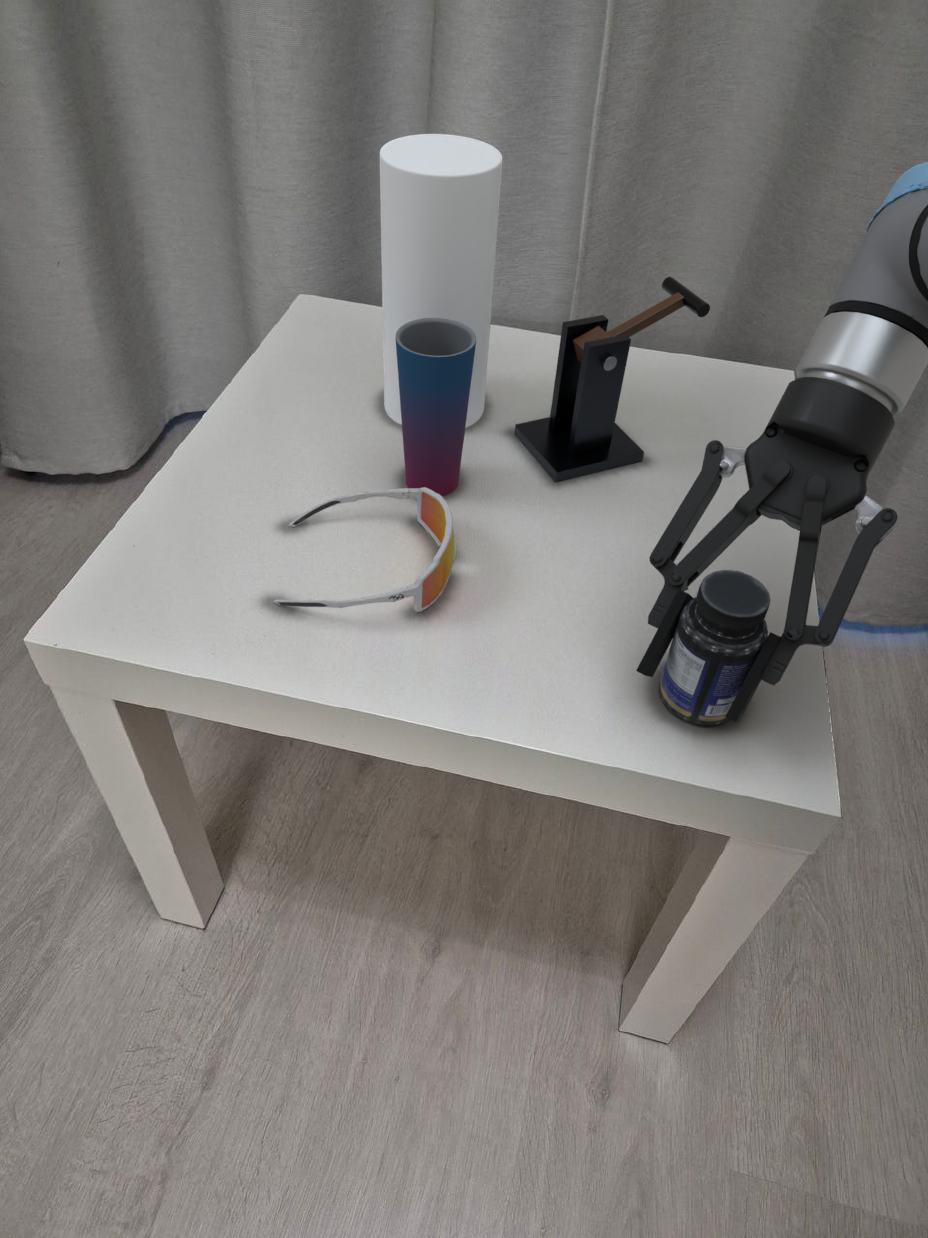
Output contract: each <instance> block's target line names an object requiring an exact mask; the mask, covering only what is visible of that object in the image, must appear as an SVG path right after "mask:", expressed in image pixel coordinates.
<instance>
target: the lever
mask: <svg viewBox="0 0 928 1238" xmlns="http://www.w3.org/2000/svg"><path fill="white" fill-rule="evenodd" d="M661 288H662V290H664V292H665V293H667V294H669V297H667V298H665V299H663V300H661V301H660V302H658V303H656V304H654V305H653V306H651V307H649V308H647V309H645V310H644V311H642V312H640V313H638V314H637V315H635V316H632V317H631V318H630V319H628V320H626V321H624V322H623V323H620V324H619V325H617V326H615V327H613V328H612V329H610V330H607V332H605V331H604V330H603V329H602V328H601V327H599V326H597V327H595V328H594V329H592V330H590V331H588V332H587V333H585V334H583V335H581V336H579V337H578V338H576V339H574V340H573V342H574V347H575V351H576V355H577V360H578V361H579V362H580V363H581V362H582V356H583V349H584V343H585V342H589V341H594V340H600V339H605V338H610V337H615V336H621V335H627V336H628V337H629V338H630V337H632V336H634V335H636V334H639V333H640V332H641V331H643V330H645V329H647V328H648V327H650V326H652V325H654V324H656V323H657V322H659V321H661V320H663V319H664V318H667V317H668V316H669V315H671V314H674V312H676V311H678V310H681V309H682V308H684V307H685V308H687V309H688V310H690V312H692V313H693V314H695V315H696V316H697V317H699V318H705V317H706V316H707V315H708V314H709V313H710V310H711V305H710V304H709V303H708V302H707V301H705V300H704V299H703V298H701V297H700V296H698V295H697V294H696V293H695V292H693V291H691V290H690V289H689V288H688V287H686V286H685V285H684V284H682V283H681V282H679V281H678V280H677V279H675V278H674V277H673V276H667V277H665V278H664V279H663V281H662V283H661Z"/></svg>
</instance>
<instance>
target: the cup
mask: <svg viewBox="0 0 928 1238" xmlns="http://www.w3.org/2000/svg"><path fill="white" fill-rule="evenodd" d="M395 339H396V352H397V366H398V379H399V393H400V406H401V420H402V425H401V432H402V433H401V434H402V447H403V458H404V472H405V473H404V475H405V483H406V487H407V488H422V487H426V488H428V489H430V490H432V491H434V492H435V493H437V494H438V493H439V494H440V495H441V496H442V497H445V496H448V495H450V494H452V493H454V492H455V491H456V489H457V488H458V486H459V480H460V472H461V465H462V457H463V450H464V449H463V448H464V442H465V441H464V440H465V433H466V428H465V426H466V418H467V410H468V402H469V394H470V387H471V379H472V371H473V363H474V355H475V347H476V335H475V333H474V332H473V331H472V329H471V328H469V327H468V326H466V325H464V324H462V323H460V322H457V321H454V320H450V319H444V318H422V319H417V320H413V321H410V322H408V323H405V324H404V325H402V326H401V327H400V328H399V329H398V330H397V332H396V336H395Z"/></svg>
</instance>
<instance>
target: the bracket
mask: <svg viewBox="0 0 928 1238" xmlns="http://www.w3.org/2000/svg"><path fill="white" fill-rule="evenodd" d="M608 325H609V318H608V317H606V316H605V315H604V314H600V315H595V316H589V317H583V318H579V319H573V320H572V319H571V320H566V321H563V322H562V325H561V326H562V327H561V333H560V342H559V348H558V356H557V363H556V369H555V376H554V383H553V393H552V400H551V405H550V406H551V407H550V413H549V416H547V417H542V418H539V419H533V420H530V421H525V422H520V423H516V424H514V432H513V434H514V436H515V437H516V438H517V439H518V440H519V441H520V442H521V444H522V445H523V446H524V447H525V448H526V449H527V451H528V452H529V453H530V454H531V456H532V457H533V458H534V459H535V460H536V461H537V462H538V464H539V465H540V466H541V467H542V469H544V471H545V472H546V473H547V474H548V476H550V478H551V479H552V481H554V483H560V482H563V481H567V480H572V479H575V478H581V477H584V476H589V475H593V474H597V473H600V472H605V471H608V470H613V469H617V468H620V467H625V466H629V465H633V464H638V463H641V462H643V460H644V455H645V451H644V450H643V449H642V448H641V447H640V446H639V445H638V443H636V442H635V441H634V440H633V438H631V437H630V435H628V434H627V433H626V432H625V431H624V430H623V429H622V427H620V426H619V425H618V424H617V423H616V419H617V414H618V409H619V405H620V404H619V403H620V397H621V393H622V389H623V382H624V377H625V373H626V367H627V363H628V362H627V361H628V358H629V354H630V353H629V352H630V349H631V341H632V339H631V338H630V337H628V336H627V335H621V336H615V337H610V338H605V339H600V340H594V341H589V342H585V343H584V349H583V356H582V362H581V363H580V362H579V361H578V360H577V355H576V351H575V347H574V342H573V340H574V339H576V338H578V337H579V336H581V335H583V334H585V333H587V332H588V331H590V330H592V329H594V328H595V327H597V326H599V327H601V328H602V329H603V330H604V331H605V332H606V333H607V332H608Z"/></svg>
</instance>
